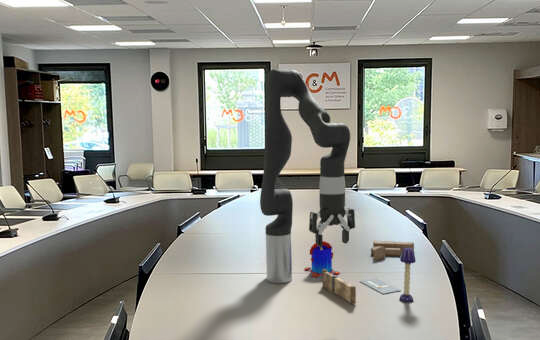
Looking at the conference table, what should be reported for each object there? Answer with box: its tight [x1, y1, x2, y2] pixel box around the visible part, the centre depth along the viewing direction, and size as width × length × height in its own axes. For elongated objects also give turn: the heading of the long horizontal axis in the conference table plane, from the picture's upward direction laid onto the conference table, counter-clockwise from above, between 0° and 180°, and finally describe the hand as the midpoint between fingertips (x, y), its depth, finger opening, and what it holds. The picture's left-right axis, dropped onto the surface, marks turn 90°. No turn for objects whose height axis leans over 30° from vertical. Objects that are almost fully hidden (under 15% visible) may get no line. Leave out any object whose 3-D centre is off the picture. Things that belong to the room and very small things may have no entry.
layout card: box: [359, 277, 402, 295], centre depth 165 cm, size 14×7×1 cm, turn 22°
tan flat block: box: [321, 269, 335, 293], centre depth 164 cm, size 7×2×6 cm, turn 22°
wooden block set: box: [370, 240, 415, 261], centre depth 202 cm, size 17×6×18 cm
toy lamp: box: [399, 248, 416, 303], centre depth 151 cm, size 5×5×17 cm
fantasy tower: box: [303, 241, 341, 279], centre depth 182 cm, size 12×12×12 cm
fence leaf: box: [332, 275, 357, 305], centre depth 155 cm, size 13×2×5 cm, turn 22°
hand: (332, 244), depth 144 cm, fingers open, 8 cm apart
